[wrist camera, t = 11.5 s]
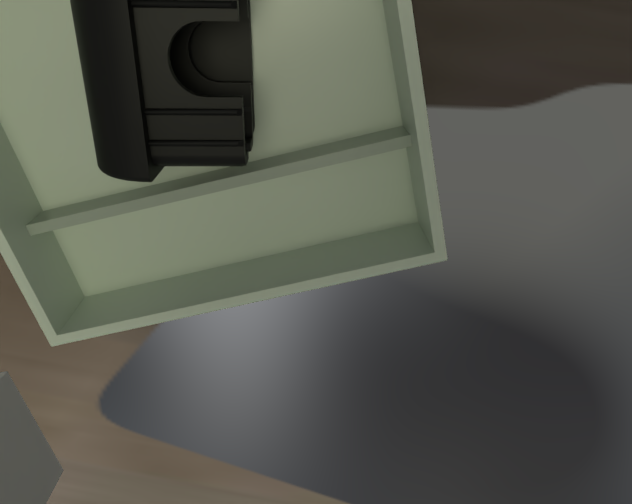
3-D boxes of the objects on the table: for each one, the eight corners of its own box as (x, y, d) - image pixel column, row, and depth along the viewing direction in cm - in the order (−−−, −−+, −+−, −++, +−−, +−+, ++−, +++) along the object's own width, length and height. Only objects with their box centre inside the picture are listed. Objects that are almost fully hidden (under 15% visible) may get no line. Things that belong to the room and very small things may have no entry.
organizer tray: (364, -179, 24) (380, -220, 19) (426, 223, 32) (447, 260, 28) (-88, -52, 25) (-171, -64, 21) (84, 300, 34) (51, 346, 29)
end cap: (94, -69, 25) (26, -92, 19) (247, -66, 25) (231, -88, 19) (124, 145, 29) (78, 184, 23) (256, 145, 29) (244, 184, 23)
